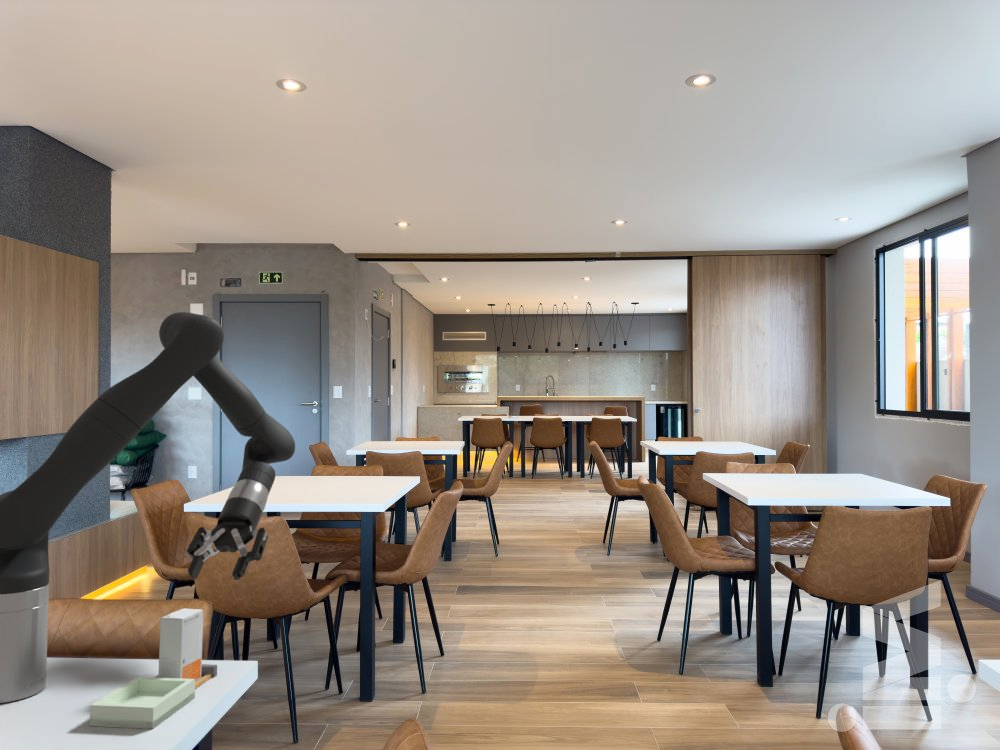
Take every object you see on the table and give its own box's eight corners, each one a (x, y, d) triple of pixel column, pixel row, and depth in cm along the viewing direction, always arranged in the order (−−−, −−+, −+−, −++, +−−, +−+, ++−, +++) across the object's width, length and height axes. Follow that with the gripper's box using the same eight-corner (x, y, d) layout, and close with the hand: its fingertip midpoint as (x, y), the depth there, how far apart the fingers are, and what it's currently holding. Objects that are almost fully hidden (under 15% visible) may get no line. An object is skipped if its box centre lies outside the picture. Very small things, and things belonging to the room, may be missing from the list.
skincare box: (179, 692, 113) (181, 619, 113) (157, 690, 114) (158, 617, 114) (203, 678, 119) (204, 608, 119) (181, 677, 120) (182, 607, 120)
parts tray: (89, 725, 101) (90, 705, 101) (137, 695, 112) (137, 676, 112) (153, 728, 100) (153, 707, 100) (194, 697, 111) (195, 678, 111)
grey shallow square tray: (141, 694, 112) (141, 683, 112) (174, 673, 121) (174, 663, 121) (187, 696, 111) (187, 685, 111) (216, 675, 120) (217, 664, 120)
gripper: (204, 495, 138) (170, 565, 126) (272, 495, 136) (243, 566, 124) (217, 518, 143) (185, 587, 131) (283, 518, 141) (256, 589, 129)
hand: (213, 577), depth 127 cm, fingers open, 8 cm apart
